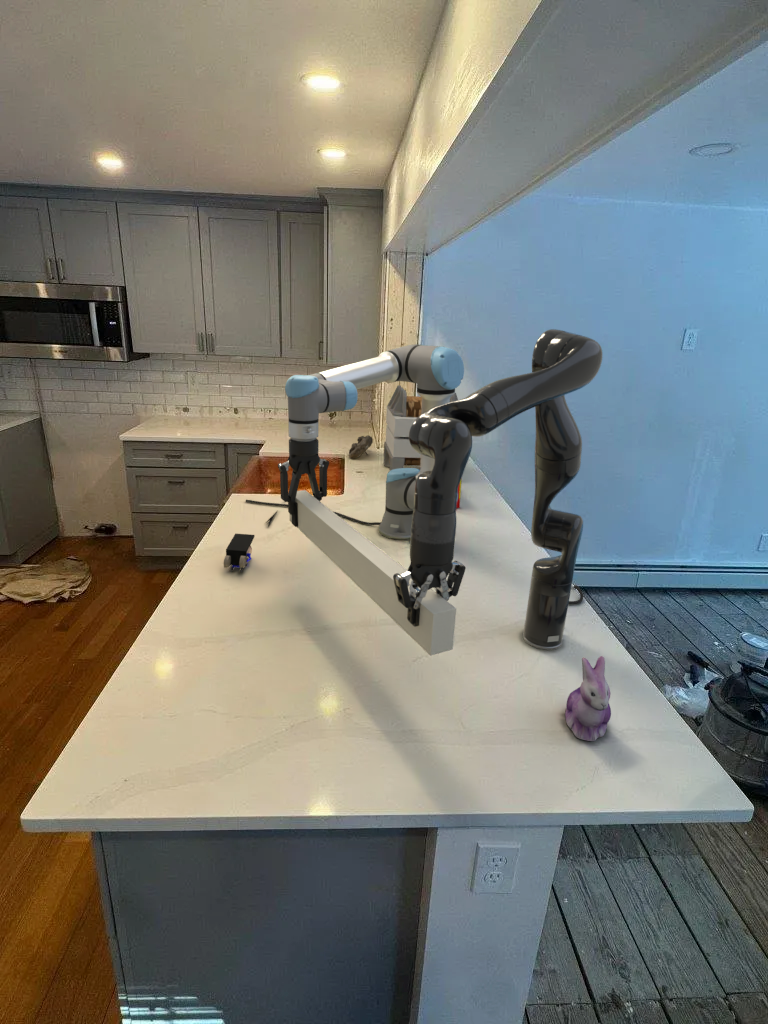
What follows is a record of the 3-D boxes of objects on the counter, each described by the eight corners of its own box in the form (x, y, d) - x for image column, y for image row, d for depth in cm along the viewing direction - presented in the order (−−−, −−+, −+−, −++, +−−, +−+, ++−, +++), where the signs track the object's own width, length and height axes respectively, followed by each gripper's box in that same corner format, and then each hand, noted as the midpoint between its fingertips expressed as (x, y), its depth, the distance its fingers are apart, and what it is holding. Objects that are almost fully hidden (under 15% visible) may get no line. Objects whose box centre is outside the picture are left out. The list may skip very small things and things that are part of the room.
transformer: (382, 463, 289) (386, 382, 275) (445, 464, 293) (451, 384, 279) (390, 482, 257) (394, 392, 243) (460, 483, 261) (468, 394, 247)
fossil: (348, 441, 313) (370, 426, 308) (359, 455, 316) (380, 440, 311) (342, 455, 293) (365, 439, 288) (353, 469, 296) (376, 454, 291)
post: (289, 520, 156) (288, 491, 153) (305, 518, 158) (305, 489, 155) (430, 656, 97) (433, 614, 95) (452, 649, 100) (456, 608, 97)
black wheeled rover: (246, 579, 165) (256, 553, 178) (245, 557, 161) (255, 532, 175) (223, 578, 165) (235, 552, 178) (221, 556, 161) (233, 531, 175)
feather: (284, 505, 226) (287, 501, 226) (267, 528, 200) (269, 524, 199) (281, 503, 226) (283, 499, 225) (262, 526, 199) (265, 521, 199)
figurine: (589, 751, 104) (604, 682, 99) (550, 716, 112) (561, 651, 107) (625, 735, 108) (641, 669, 103) (585, 703, 116) (597, 640, 111)
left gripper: (274, 444, 137) (277, 533, 145) (341, 438, 145) (340, 523, 153) (265, 437, 143) (267, 523, 151) (329, 432, 151) (329, 514, 159)
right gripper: (408, 548, 89) (403, 641, 95) (480, 534, 96) (471, 621, 102) (385, 531, 95) (381, 619, 101) (454, 519, 102) (447, 602, 108)
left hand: (304, 523), depth 152 cm, fingers closed on post, 5 cm apart
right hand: (426, 620), depth 102 cm, fingers closed on post, 4 cm apart
